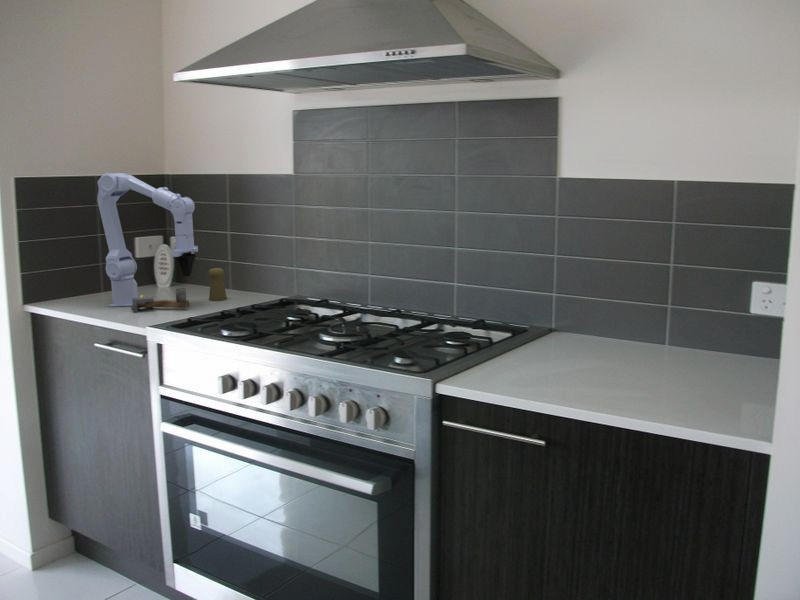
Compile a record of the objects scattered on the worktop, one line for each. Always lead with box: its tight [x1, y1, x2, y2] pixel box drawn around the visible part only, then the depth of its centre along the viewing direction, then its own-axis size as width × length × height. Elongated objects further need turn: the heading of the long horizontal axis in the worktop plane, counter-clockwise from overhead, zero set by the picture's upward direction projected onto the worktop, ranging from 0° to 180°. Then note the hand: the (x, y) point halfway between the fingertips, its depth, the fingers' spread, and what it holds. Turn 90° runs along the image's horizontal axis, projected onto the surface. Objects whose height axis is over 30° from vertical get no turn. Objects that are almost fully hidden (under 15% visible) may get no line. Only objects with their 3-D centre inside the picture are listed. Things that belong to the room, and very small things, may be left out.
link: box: [137, 287, 190, 309], centre depth 261 cm, size 18×4×6 cm, turn 79°
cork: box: [208, 267, 228, 302], centre depth 277 cm, size 6×6×11 cm
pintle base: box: [130, 294, 155, 312], centre depth 262 cm, size 7×7×4 cm
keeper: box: [132, 296, 154, 314], centre depth 258 cm, size 3×6×4 cm, turn 109°
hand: (186, 276), depth 263 cm, fingers closed
